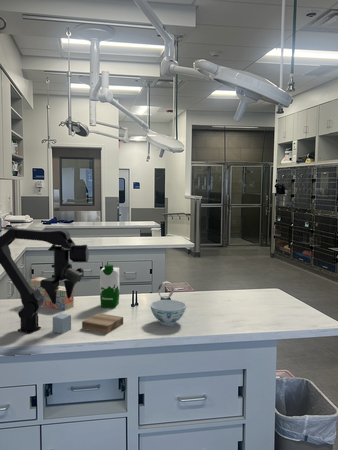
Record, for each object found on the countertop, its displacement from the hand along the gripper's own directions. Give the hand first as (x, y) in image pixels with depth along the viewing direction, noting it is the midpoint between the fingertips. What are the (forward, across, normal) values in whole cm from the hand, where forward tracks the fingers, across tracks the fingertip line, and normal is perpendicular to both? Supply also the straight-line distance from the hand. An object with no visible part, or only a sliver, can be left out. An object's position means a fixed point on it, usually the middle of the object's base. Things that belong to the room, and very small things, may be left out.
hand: (61, 300), depth 159 cm
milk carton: (+12, +37, 0) cm, 39 cm away
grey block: (+12, 0, 0) cm, 12 cm away
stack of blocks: (+12, +25, +25) cm, 38 cm away
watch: (+12, +50, -23) cm, 57 cm away
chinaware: (+12, +26, -35) cm, 45 cm away
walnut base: (+12, +10, -12) cm, 20 cm away
